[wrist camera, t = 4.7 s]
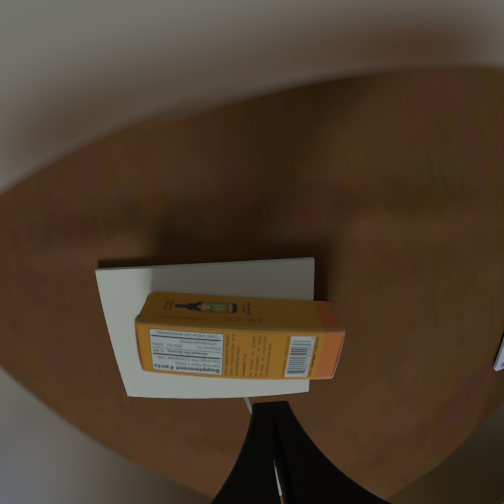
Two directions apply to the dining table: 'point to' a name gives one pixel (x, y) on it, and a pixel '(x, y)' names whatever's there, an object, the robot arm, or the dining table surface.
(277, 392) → the mat
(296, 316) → the supplement box
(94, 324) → the dining table surface
